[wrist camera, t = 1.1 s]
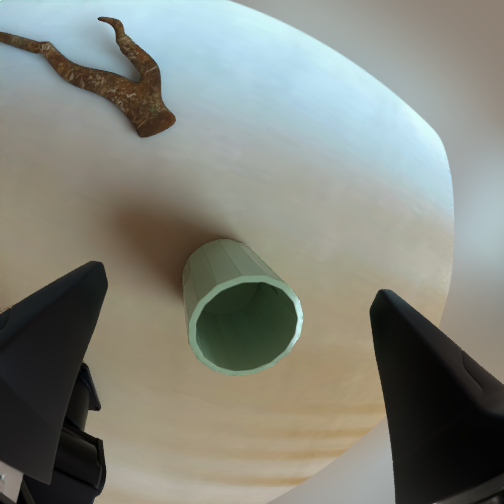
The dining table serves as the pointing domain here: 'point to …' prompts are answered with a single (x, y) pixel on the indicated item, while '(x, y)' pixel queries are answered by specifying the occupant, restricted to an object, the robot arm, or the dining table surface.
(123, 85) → the branch
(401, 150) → the dining table surface
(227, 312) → the cup
